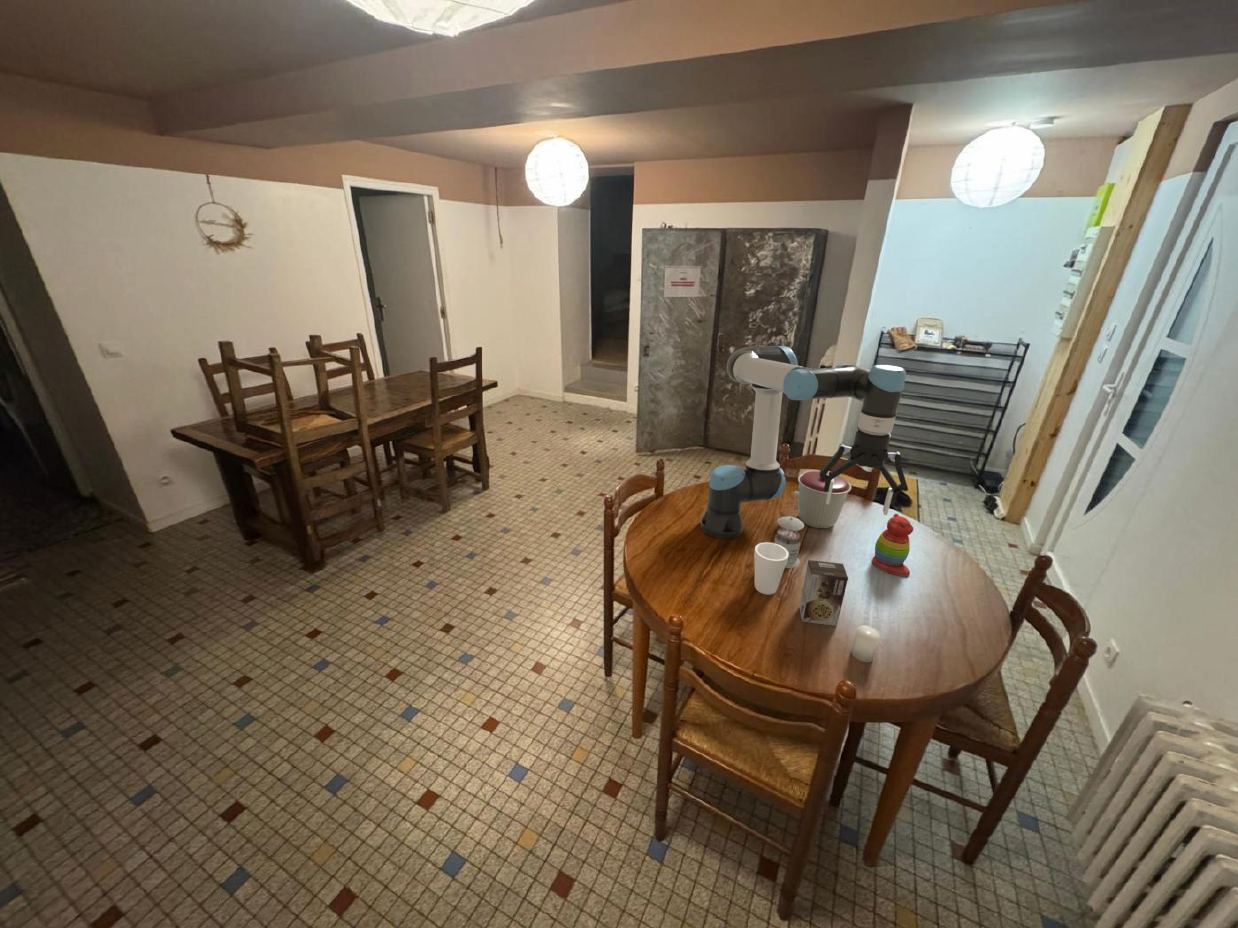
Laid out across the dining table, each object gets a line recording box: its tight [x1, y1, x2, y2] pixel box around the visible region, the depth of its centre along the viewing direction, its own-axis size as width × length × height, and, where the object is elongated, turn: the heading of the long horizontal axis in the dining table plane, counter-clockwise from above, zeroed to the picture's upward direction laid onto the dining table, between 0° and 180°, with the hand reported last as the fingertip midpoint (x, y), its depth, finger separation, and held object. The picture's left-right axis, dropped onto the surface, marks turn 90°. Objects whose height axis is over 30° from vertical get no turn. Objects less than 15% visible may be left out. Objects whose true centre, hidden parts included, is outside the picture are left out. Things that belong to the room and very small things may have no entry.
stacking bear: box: [871, 513, 915, 577], centre depth 148 cm, size 11×10×18 cm
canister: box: [797, 470, 852, 529], centre depth 172 cm, size 18×18×21 cm
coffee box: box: [798, 559, 849, 627], centre depth 126 cm, size 9×6×16 cm
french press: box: [773, 490, 805, 569], centre depth 149 cm, size 10×12×25 cm
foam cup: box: [753, 541, 789, 595], centre depth 137 cm, size 10×9×13 cm
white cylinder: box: [850, 624, 881, 663], centre depth 115 cm, size 5×5×7 cm
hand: (855, 507), depth 122 cm, fingers open, 13 cm apart
